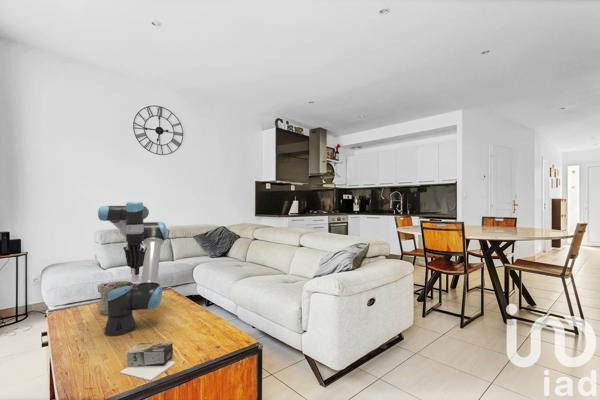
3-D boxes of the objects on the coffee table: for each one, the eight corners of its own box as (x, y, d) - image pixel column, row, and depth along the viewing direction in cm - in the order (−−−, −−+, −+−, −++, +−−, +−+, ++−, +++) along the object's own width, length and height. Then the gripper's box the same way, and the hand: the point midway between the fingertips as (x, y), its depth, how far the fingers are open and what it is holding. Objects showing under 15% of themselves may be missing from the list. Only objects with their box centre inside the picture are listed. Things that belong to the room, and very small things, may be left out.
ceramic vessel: (124, 289, 217) (135, 264, 208) (137, 316, 206) (149, 291, 197) (88, 297, 198) (98, 270, 190) (100, 327, 187) (112, 300, 179)
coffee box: (126, 367, 129) (164, 366, 129) (126, 352, 129) (163, 351, 129) (138, 356, 138) (173, 355, 138) (138, 342, 138) (172, 341, 138)
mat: (119, 372, 125) (119, 372, 125) (146, 356, 138) (146, 355, 138) (150, 381, 120) (150, 380, 120) (176, 363, 133) (176, 362, 133)
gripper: (118, 233, 146) (118, 282, 146) (138, 234, 142) (138, 284, 142) (131, 232, 153) (132, 278, 153) (151, 232, 149) (151, 280, 149)
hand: (135, 281), depth 148 cm, fingers closed
